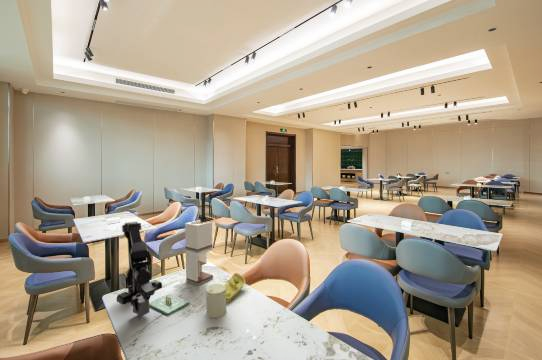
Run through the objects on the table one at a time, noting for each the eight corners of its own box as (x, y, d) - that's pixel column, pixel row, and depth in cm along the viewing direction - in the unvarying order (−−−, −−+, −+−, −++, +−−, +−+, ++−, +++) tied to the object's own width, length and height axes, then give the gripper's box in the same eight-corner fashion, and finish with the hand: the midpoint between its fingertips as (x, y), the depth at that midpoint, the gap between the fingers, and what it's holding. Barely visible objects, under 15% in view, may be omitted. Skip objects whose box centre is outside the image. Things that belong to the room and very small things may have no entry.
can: (202, 312, 123) (202, 287, 123) (218, 304, 130) (218, 281, 129) (214, 320, 117) (213, 294, 116) (230, 312, 124) (230, 287, 123)
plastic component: (228, 299, 131) (213, 288, 134) (223, 310, 133) (209, 298, 136) (248, 280, 149) (234, 270, 152) (244, 290, 151) (230, 280, 154)
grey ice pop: (128, 309, 123) (127, 297, 123) (136, 305, 126) (136, 293, 126) (141, 316, 117) (140, 303, 117) (149, 312, 121) (149, 299, 120)
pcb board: (148, 305, 130) (147, 297, 130) (169, 295, 140) (168, 288, 140) (168, 315, 121) (167, 307, 121) (189, 303, 131) (188, 296, 131)
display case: (198, 285, 151) (197, 225, 149) (186, 281, 157) (184, 223, 155) (212, 278, 161) (211, 221, 159) (200, 274, 167) (199, 219, 165)
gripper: (129, 288, 108) (130, 325, 108) (168, 273, 123) (169, 305, 124) (115, 282, 114) (116, 317, 115) (154, 268, 129) (155, 298, 130)
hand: (141, 309), depth 121 cm, fingers closed on grey ice pop, 4 cm apart
